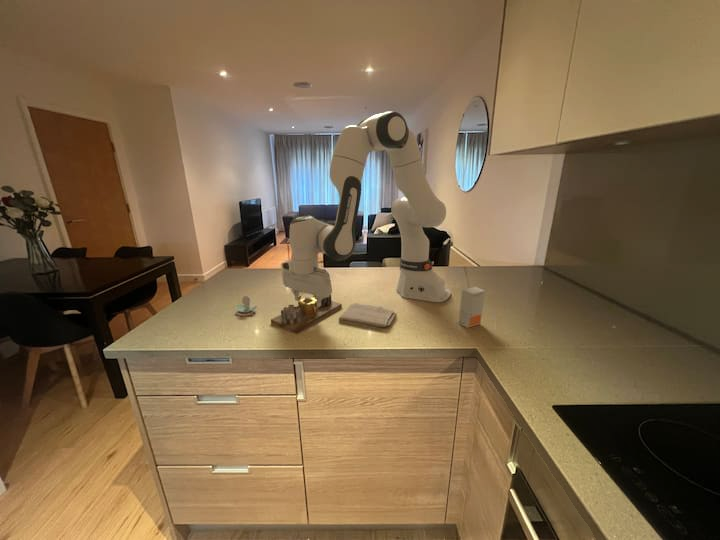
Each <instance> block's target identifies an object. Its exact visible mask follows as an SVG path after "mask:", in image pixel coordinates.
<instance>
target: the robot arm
mask: <svg viewBox="0 0 720 540" xmlns="http://www.w3.org/2000/svg"><path fill="white" fill-rule="evenodd" d="M419 146H420V145H419V143H418V140H417V137H416V135H415V133H414V132H413V130H411V129H409V127H408V124H407V121H406V119H405V118H404V116H403V115H402V114H401V113H399V112H397V111H392V110H391V111H390V110H389V111H385V112H381V113H377V114H374V115H372V116H370V117H368V118H366V119H363V120H361V121H360V122H359V123H358V124H357V125H352V124H351V125H347V126H345V127H344V128H343V129H342V130H341V132H340V133H339V137H338V138H337V140H336V144H335V146H334V149H333V152H332V156H331V160H330V166H329V180H330V181H331V183H332V185H333V186H334V188H336V190H337V193H338V198H339V199H338V207H337V211H336V218H335V222H334V225H333V224H329V223H326V222H324V221H321V220H318V219H317V218H315V217H314V216H312V215H303V216H298V217H295V218H293V219H292V221H290V225H289V246H290V249H291V255H290V258H291V259H290V260H287V261H283V262H281V264H280V265H281V266H280V267H281V269H282V271H281V276H282V284H283V286H284V287H285V288H289V289H291V292H292V294H293V296H294V301H295V302H296V301H297V302H298V301H300V299H301V298H302V295H301V294H300V293H299V291H300V292H302V293H306V294H310V295H312V296H313V295H316V298H318V299H317V301H315V302H314V304H315V306H316V307H320V306H321V301H322V299H323V298H326V297H328V296H330V295H331V296H332V294H333V289H332V287H333V286H332V280H331V276H330V273H329V272H328V271H327V270H326V269H324V268H319V267H320V266H319V253H324V254H325V255H326V256H328V258H330V259H331V260H333V261H336V262H342V261H345V260H347V259H348V258H350V257H351V256H352V255H353V253H354V252H355V248H356V246H357V245H356V243H357V241H356V224H357V219H358V215H359V209H360V203H361V195H362V180H363V176H364V172H365V167H366V164H367V163H366V162H367V159H368V156H369V154H370V153H372V152H382V151H384V150H385V151H386V152H387V154H388V156H389V161H390V165H391V169H392V174H393V178H394V182H395V185H396V188H397V189H398V191H400V192H401V193H402V194H403V196H401V197H398V198H397V199H395V200H394V201H393V203H392V204H391V215H392V217H393V219H394V220H395V221H396V224H397V226H398V230H399V233H400V238H401V257H400V258H399V260H400V261H399V271H400V272H399V278H398V283H397V286H396V289H395V290H396V292H397V293H398V294H400V296H401V298H405V299H412V300H417V301H418V300H419V301H424V302H431V303H438V304H439V303H444V302H445V301H447V300H448V299H449V298H450V297H451V295H452V293H451V290H450V289H447V288H446V282H445V279H444V278H443V277H442V276H441V275H440V274H439V273H438V272H437V271H435V269H433V265H434V262H435V261H431V259H429V255H430V254H429V253H430V239H429V238H428V236H427V235H426V234H425V231H424V229H423V228H435V227H439V226H441V225H442V224H443V223H444V221H445V220H446V217H447V208H446V205H445V203H444V202H443V201H441V200H440V199H439V198H438V197H437V196H436V194H435V193H434V191H433V190H432V188H431V186H430V184H429V183H428V179H427V177H426V173H425V167H424V165H423V160H422V155H421V151H420V147H419Z"/></svg>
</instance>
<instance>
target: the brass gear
mask: <svg viewBox="0 0 720 540" xmlns="http://www.w3.org/2000/svg"><path fill="white" fill-rule="evenodd" d="M305 298H306V297H304V298H302V297H301V299H300V301H297V304H298V305H297V306H300V308H302V315H304V314H305V315H307V316H308V315H310V314H316V313H317V311H318V307H316V306H315V304H314V302H315V301H317V299H316V298H314V297H313V296H312V297H310V303H305Z"/></svg>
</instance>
